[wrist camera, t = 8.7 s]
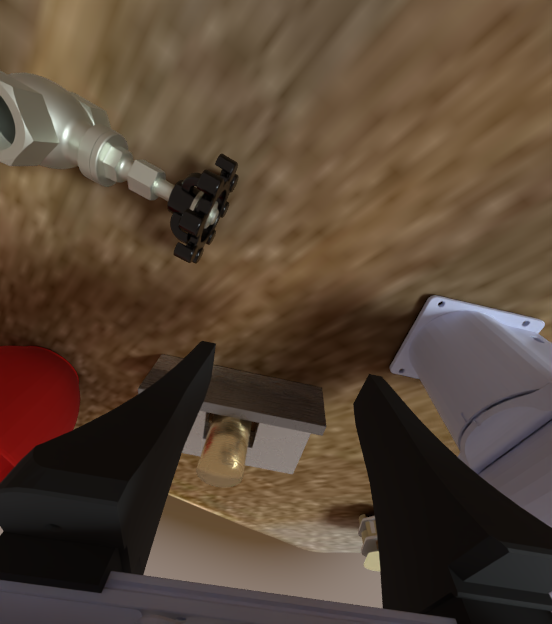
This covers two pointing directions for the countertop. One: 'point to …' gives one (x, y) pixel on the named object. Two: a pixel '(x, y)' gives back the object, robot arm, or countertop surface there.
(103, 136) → the valve
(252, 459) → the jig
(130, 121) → the countertop surface
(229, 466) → the brass cylinder
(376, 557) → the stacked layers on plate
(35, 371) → the ceramic cup
